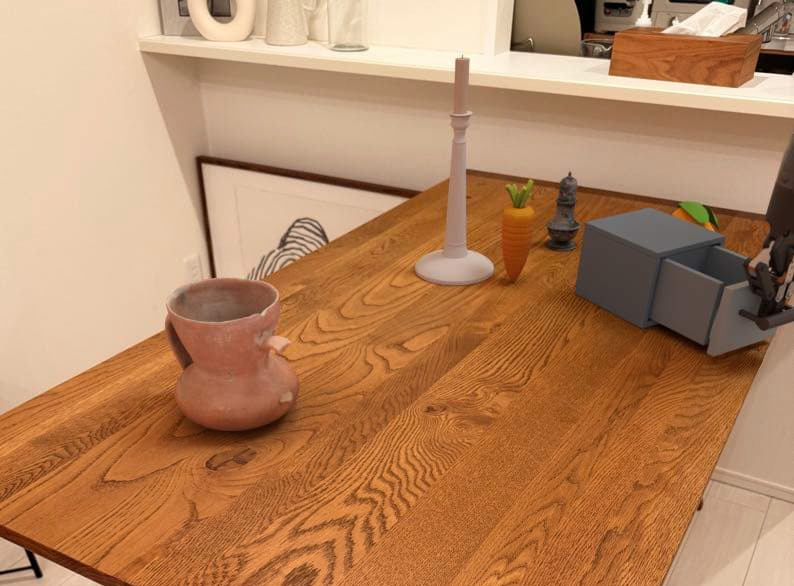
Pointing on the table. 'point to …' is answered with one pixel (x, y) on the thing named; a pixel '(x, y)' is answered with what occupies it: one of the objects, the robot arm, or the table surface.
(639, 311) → the cabinet
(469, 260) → the candlestick
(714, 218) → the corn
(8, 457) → the table surface
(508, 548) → the table surface
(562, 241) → the salt shaker
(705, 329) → the drawer
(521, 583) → the table surface
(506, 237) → the carrot
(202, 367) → the ceramic jug
